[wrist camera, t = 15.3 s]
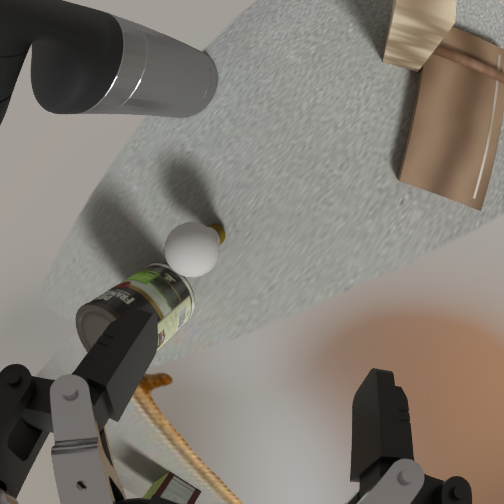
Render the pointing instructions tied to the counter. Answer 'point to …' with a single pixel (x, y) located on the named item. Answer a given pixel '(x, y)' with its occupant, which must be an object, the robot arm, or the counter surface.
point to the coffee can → (139, 303)
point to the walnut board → (455, 123)
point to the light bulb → (193, 248)
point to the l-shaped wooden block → (425, 36)
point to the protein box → (173, 490)
